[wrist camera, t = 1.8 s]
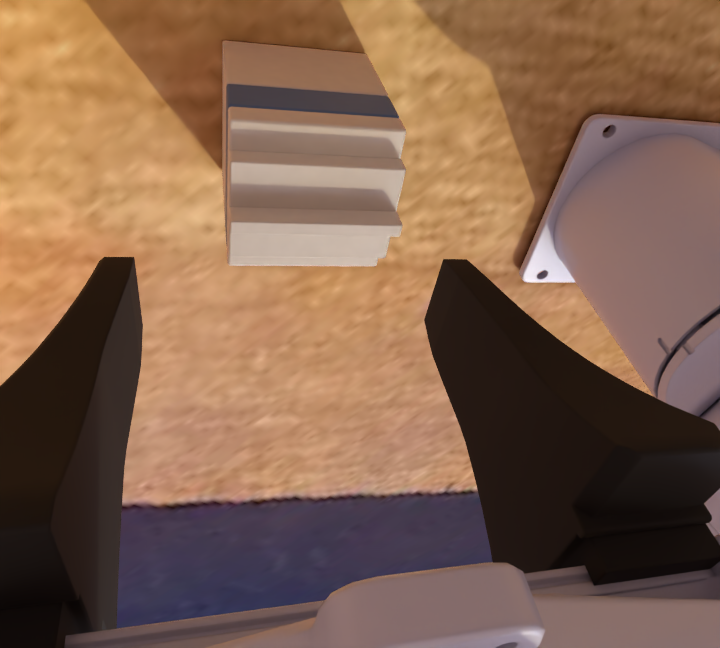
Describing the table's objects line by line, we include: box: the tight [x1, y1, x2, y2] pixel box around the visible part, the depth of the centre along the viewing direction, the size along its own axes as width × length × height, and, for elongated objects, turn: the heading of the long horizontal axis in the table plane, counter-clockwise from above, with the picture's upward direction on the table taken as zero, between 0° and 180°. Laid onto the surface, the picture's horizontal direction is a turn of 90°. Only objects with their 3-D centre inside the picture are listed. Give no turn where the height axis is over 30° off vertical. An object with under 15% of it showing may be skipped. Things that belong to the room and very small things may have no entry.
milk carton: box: [222, 40, 406, 266], centre depth 18 cm, size 5×5×7 cm
